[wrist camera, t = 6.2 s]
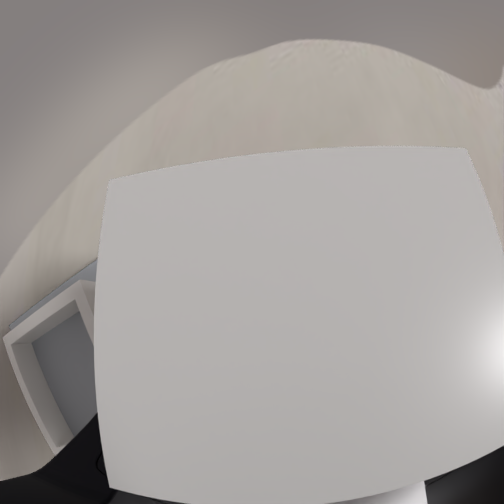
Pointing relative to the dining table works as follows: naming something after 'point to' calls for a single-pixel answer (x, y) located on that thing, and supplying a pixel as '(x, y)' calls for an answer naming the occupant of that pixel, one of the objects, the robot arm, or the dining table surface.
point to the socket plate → (58, 358)
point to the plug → (298, 325)
